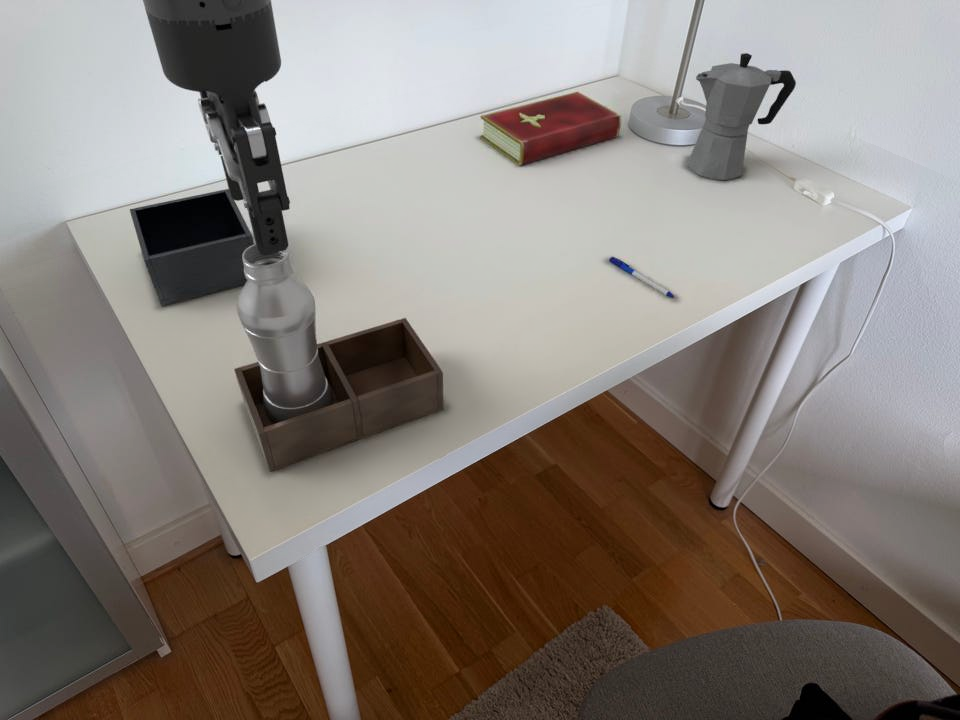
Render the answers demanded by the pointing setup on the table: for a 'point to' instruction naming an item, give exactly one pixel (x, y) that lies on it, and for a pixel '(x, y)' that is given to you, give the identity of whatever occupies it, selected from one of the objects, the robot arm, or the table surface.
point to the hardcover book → (549, 127)
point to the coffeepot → (733, 115)
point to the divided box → (351, 393)
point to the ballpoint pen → (639, 276)
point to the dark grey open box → (193, 245)
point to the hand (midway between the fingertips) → (258, 222)
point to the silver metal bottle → (282, 335)
